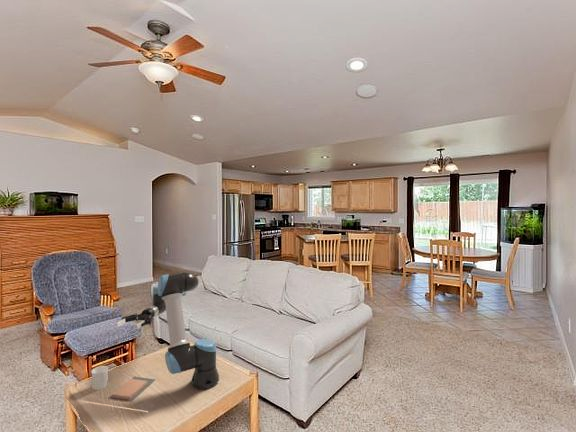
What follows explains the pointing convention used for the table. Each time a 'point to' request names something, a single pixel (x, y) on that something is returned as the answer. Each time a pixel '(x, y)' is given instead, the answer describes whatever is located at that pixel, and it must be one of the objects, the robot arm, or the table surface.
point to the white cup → (99, 377)
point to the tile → (130, 389)
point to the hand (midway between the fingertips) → (126, 326)
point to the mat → (149, 382)
